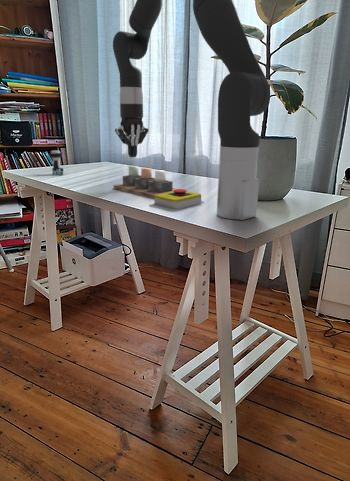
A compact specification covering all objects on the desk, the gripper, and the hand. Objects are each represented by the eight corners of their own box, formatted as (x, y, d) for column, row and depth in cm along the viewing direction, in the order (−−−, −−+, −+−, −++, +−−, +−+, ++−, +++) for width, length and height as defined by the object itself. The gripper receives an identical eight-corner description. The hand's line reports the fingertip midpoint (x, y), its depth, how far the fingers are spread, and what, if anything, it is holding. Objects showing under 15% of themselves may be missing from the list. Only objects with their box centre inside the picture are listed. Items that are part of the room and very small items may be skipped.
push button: (69, 174, 147) (66, 150, 144) (59, 176, 143) (56, 151, 140) (58, 173, 151) (56, 150, 147) (48, 174, 146) (46, 150, 143)
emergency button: (206, 189, 100) (170, 197, 90) (205, 204, 101) (170, 213, 91) (183, 185, 106) (147, 191, 96) (183, 199, 107) (147, 207, 97)
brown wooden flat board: (181, 193, 113) (182, 180, 111) (154, 198, 105) (154, 185, 103) (140, 184, 127) (139, 173, 126) (113, 188, 119) (112, 176, 118)
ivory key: (167, 183, 110) (167, 171, 109) (160, 184, 108) (159, 172, 107) (160, 182, 112) (160, 169, 111) (152, 183, 110) (152, 170, 109)
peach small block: (153, 180, 115) (153, 168, 113) (145, 181, 113) (145, 169, 111) (147, 179, 117) (146, 167, 116) (139, 180, 115) (139, 168, 114)
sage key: (140, 178, 120) (140, 166, 118) (132, 179, 117) (132, 167, 116) (134, 176, 122) (134, 165, 120) (127, 177, 120) (126, 166, 118)
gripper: (121, 101, 104) (123, 159, 110) (154, 103, 113) (154, 156, 119) (107, 102, 109) (110, 157, 115) (140, 103, 118) (140, 154, 124)
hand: (132, 156), depth 117 cm, fingers closed
